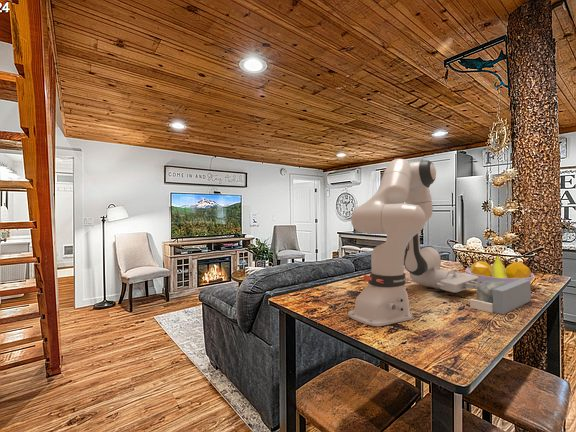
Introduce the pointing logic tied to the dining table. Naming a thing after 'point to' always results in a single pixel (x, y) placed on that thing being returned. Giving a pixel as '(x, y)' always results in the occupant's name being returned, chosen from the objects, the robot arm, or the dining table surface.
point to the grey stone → (488, 290)
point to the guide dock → (506, 298)
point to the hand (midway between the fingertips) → (481, 286)
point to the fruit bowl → (500, 271)
